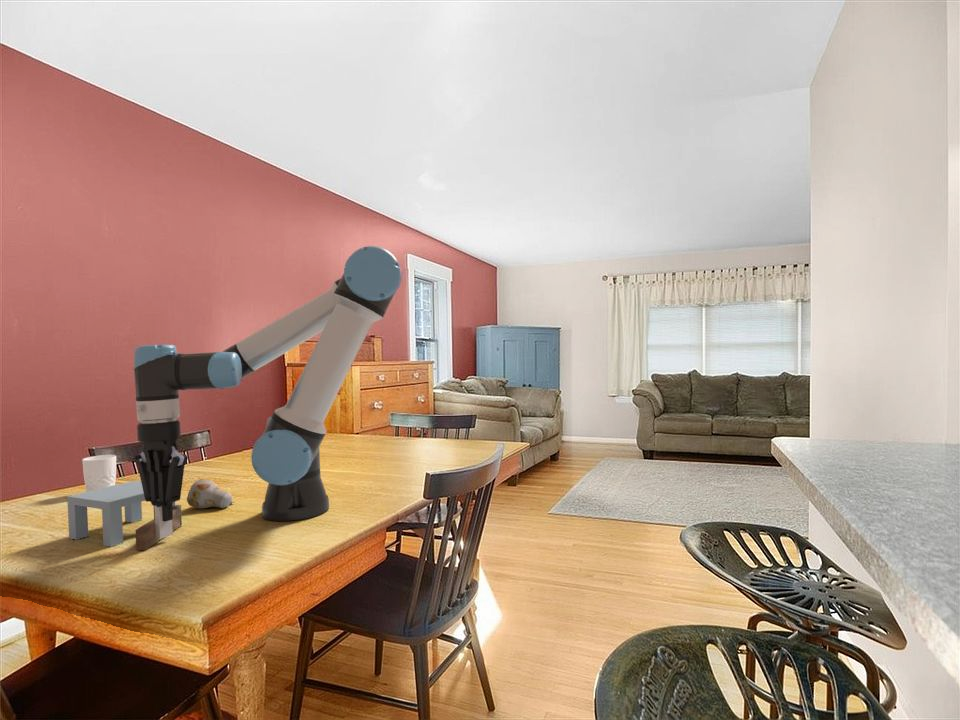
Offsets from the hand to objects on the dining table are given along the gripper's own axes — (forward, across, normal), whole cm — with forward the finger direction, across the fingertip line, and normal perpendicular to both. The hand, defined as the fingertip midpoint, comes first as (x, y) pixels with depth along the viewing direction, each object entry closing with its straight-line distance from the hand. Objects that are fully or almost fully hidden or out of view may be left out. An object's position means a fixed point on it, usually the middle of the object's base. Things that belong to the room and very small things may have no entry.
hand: (164, 536), depth 109 cm
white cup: (0, -57, +22) cm, 61 cm away
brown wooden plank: (+1, -3, +2) cm, 4 cm away
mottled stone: (+1, -12, +22) cm, 25 cm away
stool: (+1, -15, +2) cm, 15 cm away
